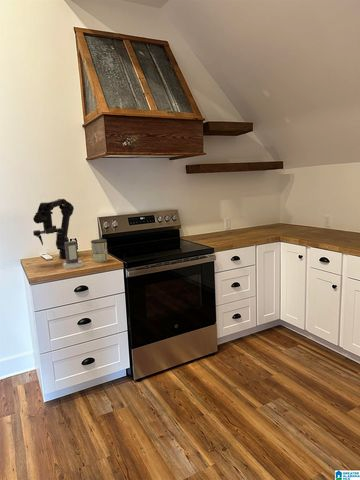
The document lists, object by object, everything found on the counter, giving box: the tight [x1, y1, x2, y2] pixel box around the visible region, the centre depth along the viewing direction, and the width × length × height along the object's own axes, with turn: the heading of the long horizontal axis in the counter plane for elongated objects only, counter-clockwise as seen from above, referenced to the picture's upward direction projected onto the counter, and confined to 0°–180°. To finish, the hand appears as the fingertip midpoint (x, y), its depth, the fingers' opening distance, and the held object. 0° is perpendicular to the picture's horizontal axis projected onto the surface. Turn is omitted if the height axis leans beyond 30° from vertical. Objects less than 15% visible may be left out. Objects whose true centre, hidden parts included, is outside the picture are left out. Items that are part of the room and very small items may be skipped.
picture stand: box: [62, 258, 84, 270], centre depth 228 cm, size 10×11×3 cm
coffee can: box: [90, 238, 109, 263], centre depth 239 cm, size 10×10×14 cm
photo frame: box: [64, 240, 79, 264], centre depth 226 cm, size 4×6×14 cm, turn 127°
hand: (50, 244), depth 237 cm, fingers open, 9 cm apart
